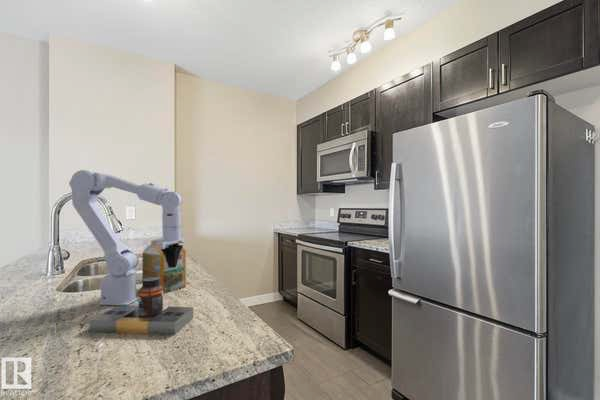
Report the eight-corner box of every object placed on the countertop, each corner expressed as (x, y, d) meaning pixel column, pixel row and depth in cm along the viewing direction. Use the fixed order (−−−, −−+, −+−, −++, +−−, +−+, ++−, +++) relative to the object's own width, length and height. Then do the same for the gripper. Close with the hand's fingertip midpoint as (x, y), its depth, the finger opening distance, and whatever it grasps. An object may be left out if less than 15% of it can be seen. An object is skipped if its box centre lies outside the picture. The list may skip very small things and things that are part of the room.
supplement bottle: (167, 316, 80) (167, 276, 80) (154, 325, 74) (155, 281, 75) (147, 315, 81) (147, 275, 81) (133, 324, 75) (133, 281, 75)
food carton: (168, 283, 114) (168, 236, 114) (185, 287, 108) (185, 237, 109) (142, 290, 104) (142, 239, 105) (159, 295, 99) (160, 240, 99)
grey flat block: (89, 332, 70) (89, 319, 70) (117, 316, 80) (117, 305, 80) (175, 334, 69) (175, 321, 69) (193, 318, 79) (193, 306, 79)
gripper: (172, 228, 89) (172, 272, 89) (192, 225, 103) (193, 262, 103) (150, 229, 89) (151, 272, 89) (173, 225, 104) (174, 262, 104)
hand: (172, 267), depth 96 cm, fingers closed
